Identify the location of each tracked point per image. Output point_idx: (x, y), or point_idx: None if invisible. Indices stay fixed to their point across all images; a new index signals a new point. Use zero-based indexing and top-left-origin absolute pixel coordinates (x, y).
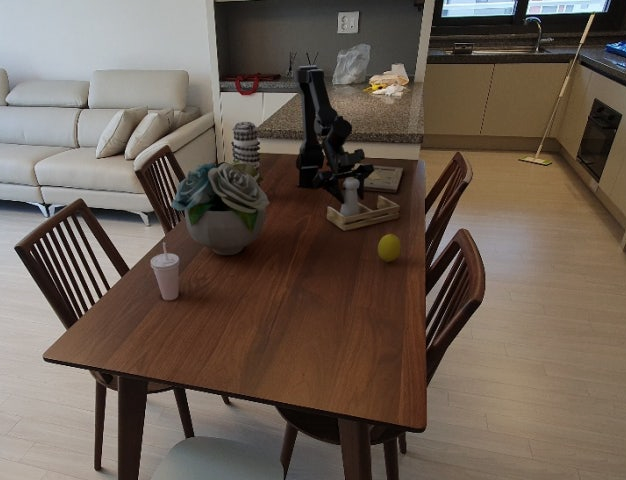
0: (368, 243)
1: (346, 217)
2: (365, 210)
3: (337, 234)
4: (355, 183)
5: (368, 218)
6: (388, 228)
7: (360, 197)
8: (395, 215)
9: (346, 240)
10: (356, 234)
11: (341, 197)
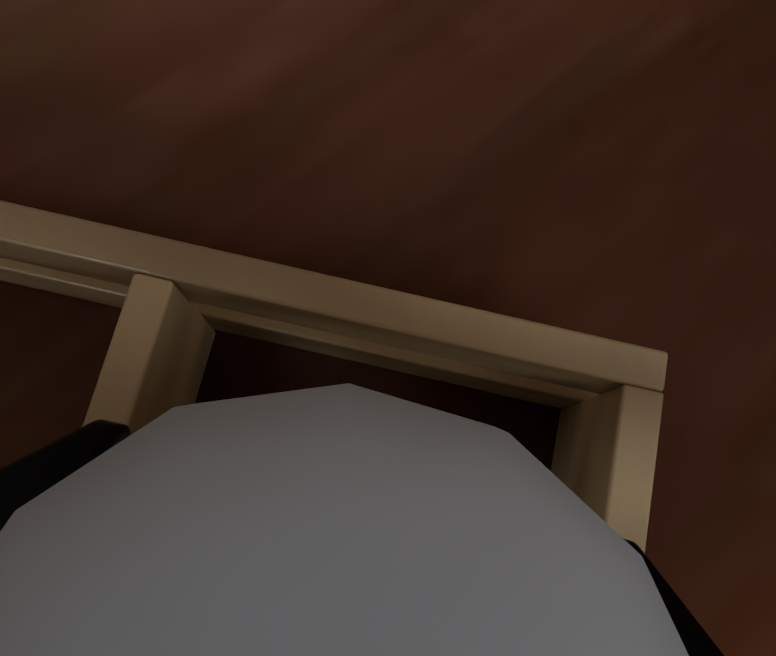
0: (588, 44)
1: (635, 363)
2: (142, 416)
3: (715, 375)
4: (433, 414)
5: (194, 344)
6: (162, 119)
7: None
8: None
9: (725, 215)
10: (543, 241)
11: (707, 641)
